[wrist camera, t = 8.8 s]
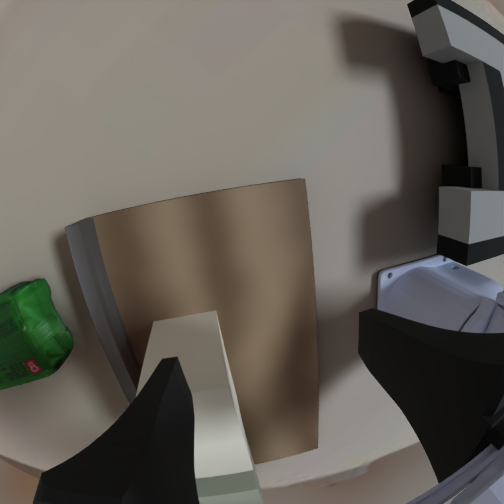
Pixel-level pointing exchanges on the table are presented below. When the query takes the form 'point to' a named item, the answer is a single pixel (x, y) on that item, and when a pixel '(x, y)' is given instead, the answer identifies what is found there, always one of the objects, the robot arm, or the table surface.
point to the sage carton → (230, 488)
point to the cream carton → (203, 390)
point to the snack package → (30, 334)
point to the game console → (468, 126)
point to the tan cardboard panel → (215, 296)
